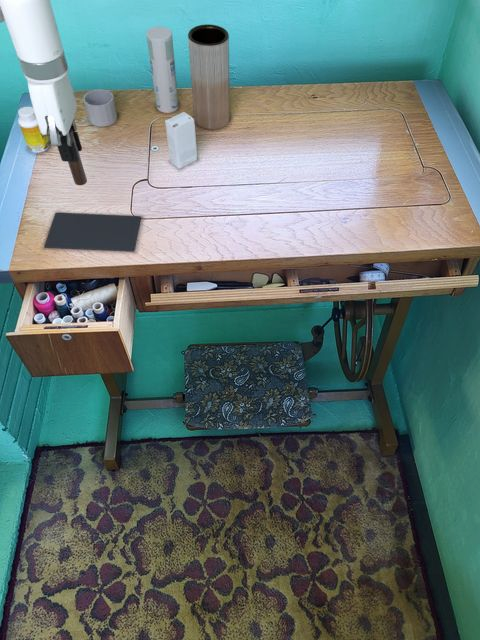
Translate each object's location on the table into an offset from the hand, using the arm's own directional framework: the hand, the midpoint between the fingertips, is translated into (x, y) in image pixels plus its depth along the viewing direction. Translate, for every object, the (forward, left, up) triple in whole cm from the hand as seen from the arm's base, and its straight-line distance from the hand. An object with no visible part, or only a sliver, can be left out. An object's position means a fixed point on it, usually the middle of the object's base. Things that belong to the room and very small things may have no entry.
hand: (72, 154), depth 105 cm
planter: (+24, +45, -20) cm, 55 cm away
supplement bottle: (-20, +29, -20) cm, 40 cm away
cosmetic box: (+18, +26, -20) cm, 37 cm away
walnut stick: (0, 0, -7) cm, 7 cm away
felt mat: (0, -1, -20) cm, 20 cm away
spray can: (+11, +50, -20) cm, 55 cm away
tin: (-6, +43, -20) cm, 48 cm away
